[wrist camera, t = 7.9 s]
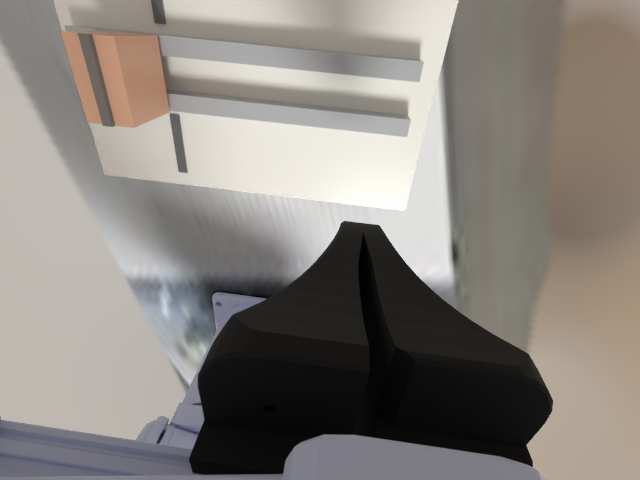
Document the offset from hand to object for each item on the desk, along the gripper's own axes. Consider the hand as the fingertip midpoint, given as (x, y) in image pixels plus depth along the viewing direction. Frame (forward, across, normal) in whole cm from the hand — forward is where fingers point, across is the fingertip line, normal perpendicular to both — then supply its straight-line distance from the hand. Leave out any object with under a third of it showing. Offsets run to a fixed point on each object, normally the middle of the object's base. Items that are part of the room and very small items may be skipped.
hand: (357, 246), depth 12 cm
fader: (+7, +11, -4) cm, 13 cm away
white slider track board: (+9, +6, -4) cm, 12 cm away
